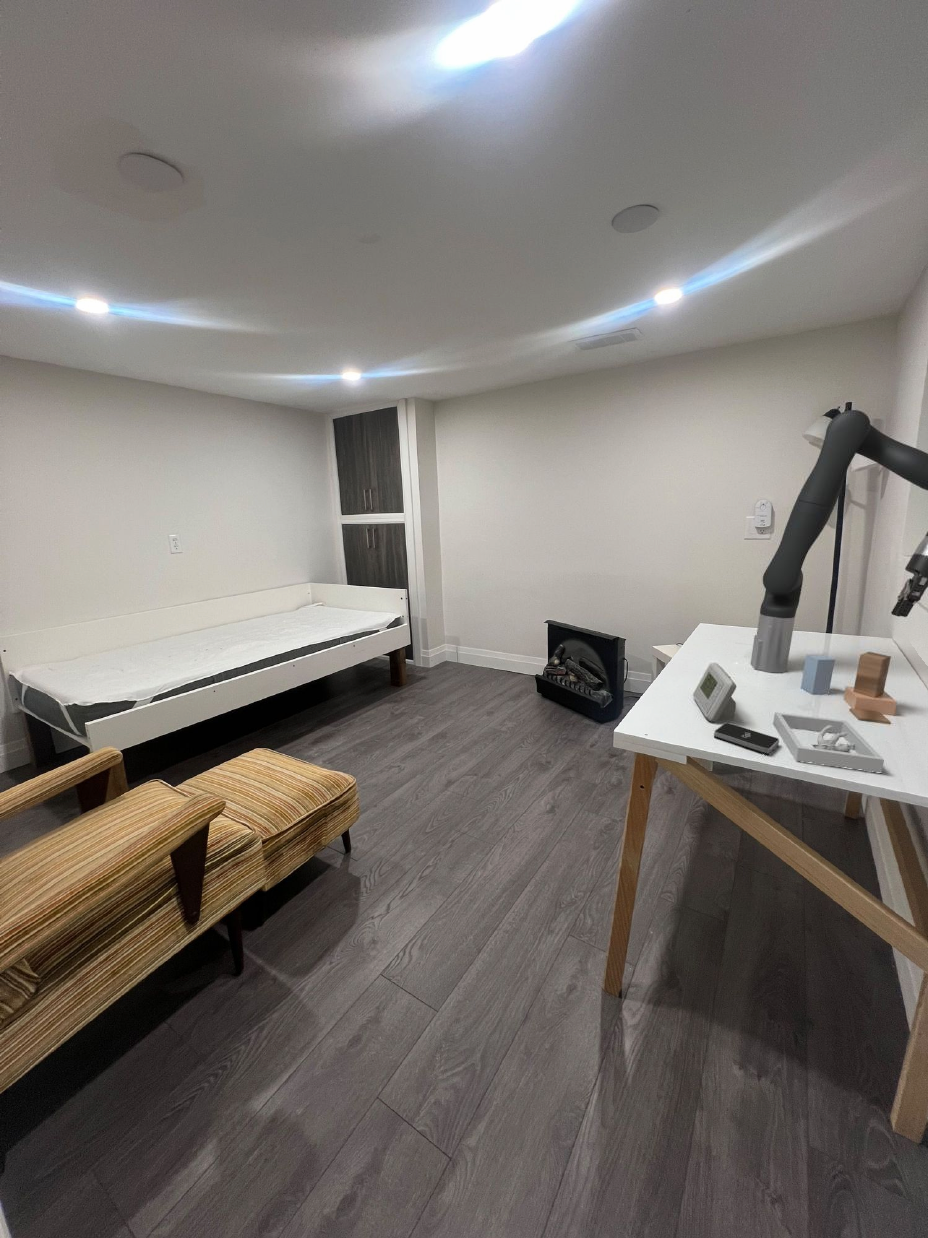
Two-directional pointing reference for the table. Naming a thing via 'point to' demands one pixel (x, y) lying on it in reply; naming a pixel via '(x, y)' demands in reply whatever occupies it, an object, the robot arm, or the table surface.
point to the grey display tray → (862, 760)
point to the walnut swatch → (869, 716)
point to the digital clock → (716, 694)
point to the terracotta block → (870, 702)
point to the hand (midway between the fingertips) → (898, 615)
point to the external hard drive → (746, 738)
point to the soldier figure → (832, 741)
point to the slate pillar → (817, 674)
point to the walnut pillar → (872, 674)
